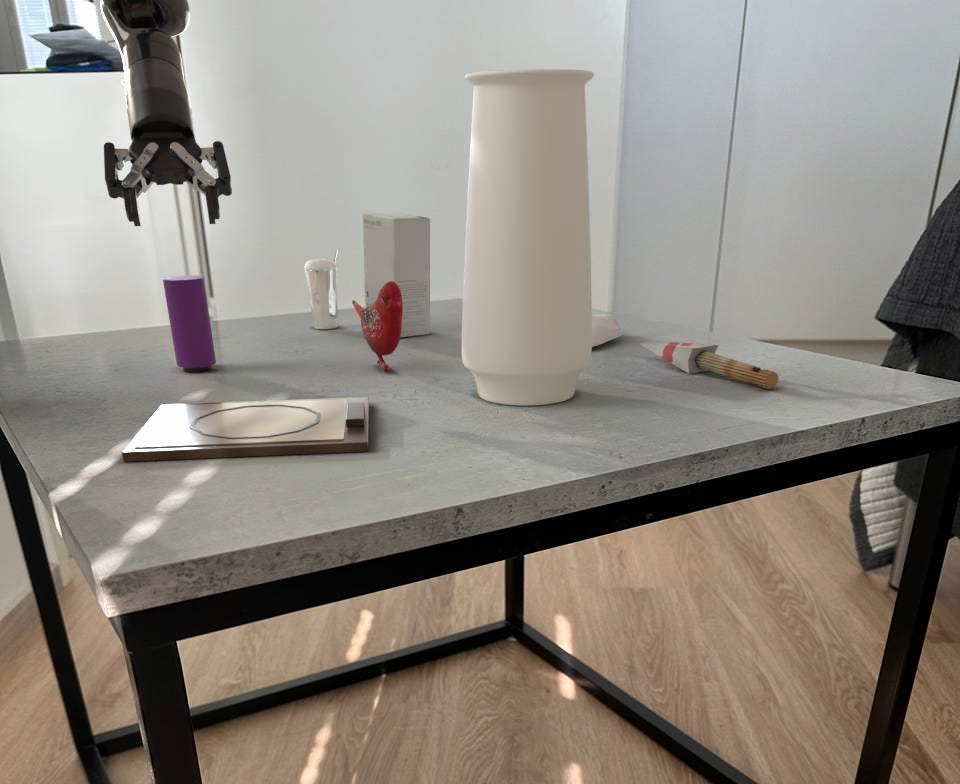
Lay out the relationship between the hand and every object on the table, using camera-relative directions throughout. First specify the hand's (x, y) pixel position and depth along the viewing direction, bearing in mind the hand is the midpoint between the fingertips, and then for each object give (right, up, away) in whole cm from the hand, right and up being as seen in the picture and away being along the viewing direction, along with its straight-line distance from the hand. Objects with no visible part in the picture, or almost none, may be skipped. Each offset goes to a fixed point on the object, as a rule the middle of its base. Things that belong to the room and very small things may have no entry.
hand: (174, 220), depth 108 cm
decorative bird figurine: (+24, -18, -1) cm, 30 cm away
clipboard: (+16, -30, -25) cm, 42 cm away
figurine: (+45, -10, +12) cm, 47 cm away
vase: (+41, -24, -14) cm, 49 cm away
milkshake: (+14, -5, +23) cm, 27 cm away
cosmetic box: (+25, -7, +18) cm, 32 cm away
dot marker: (+3, -18, -1) cm, 18 cm away
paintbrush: (+61, -20, -6) cm, 64 cm away
